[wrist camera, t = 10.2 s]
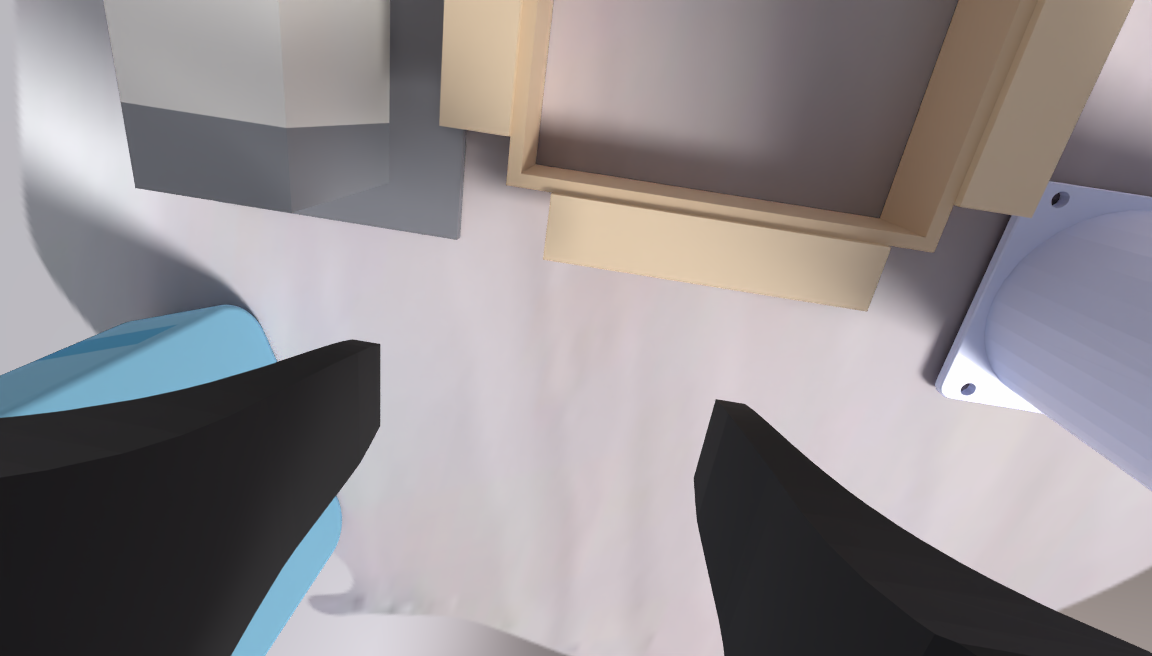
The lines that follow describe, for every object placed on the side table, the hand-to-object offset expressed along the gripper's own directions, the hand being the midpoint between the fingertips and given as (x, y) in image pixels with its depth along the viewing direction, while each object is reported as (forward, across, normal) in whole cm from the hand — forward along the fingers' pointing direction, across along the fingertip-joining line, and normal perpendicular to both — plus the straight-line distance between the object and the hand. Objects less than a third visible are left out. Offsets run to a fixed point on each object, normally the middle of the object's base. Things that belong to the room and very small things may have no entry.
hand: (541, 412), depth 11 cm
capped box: (+9, +9, -7) cm, 14 cm away
